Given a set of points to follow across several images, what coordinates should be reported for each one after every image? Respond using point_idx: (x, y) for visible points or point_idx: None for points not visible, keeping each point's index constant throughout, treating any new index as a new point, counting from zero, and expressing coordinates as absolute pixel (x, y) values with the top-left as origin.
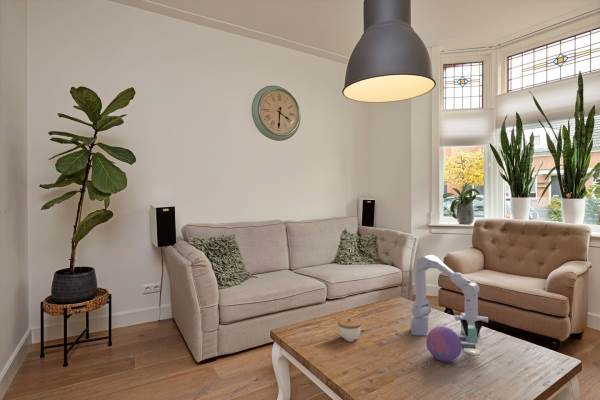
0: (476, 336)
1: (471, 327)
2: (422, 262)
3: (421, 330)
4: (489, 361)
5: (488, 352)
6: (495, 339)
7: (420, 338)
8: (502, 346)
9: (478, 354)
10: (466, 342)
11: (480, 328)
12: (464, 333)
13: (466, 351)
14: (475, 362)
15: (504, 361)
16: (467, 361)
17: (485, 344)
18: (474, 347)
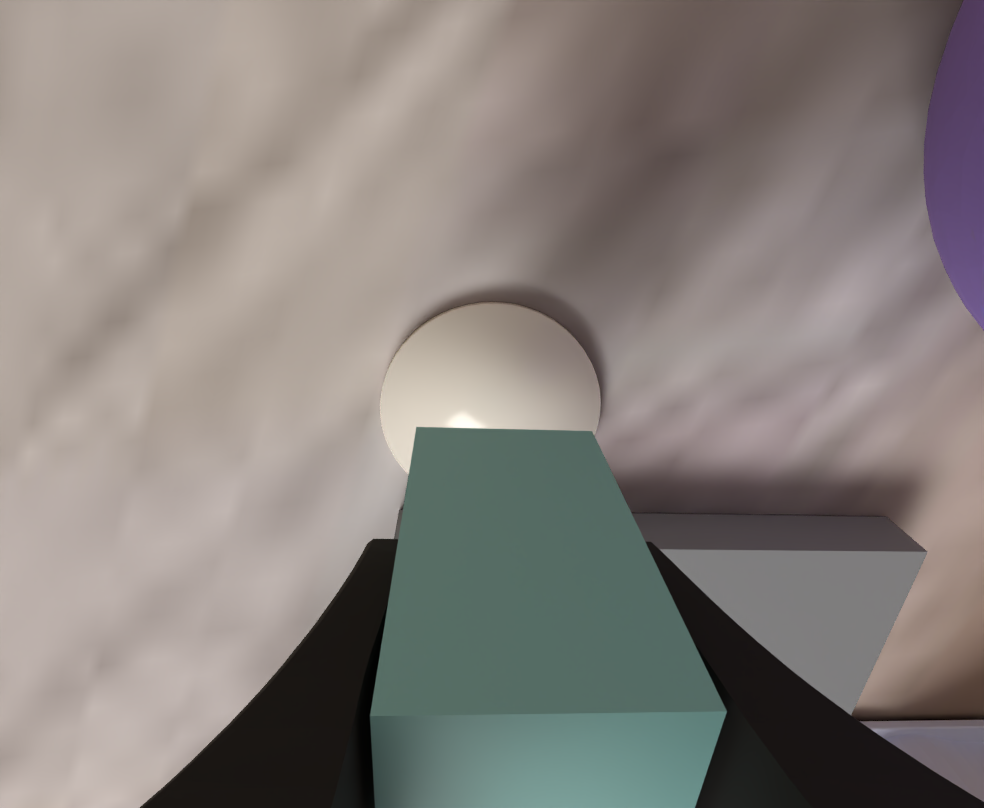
0: (421, 514)
1: (543, 797)
2: None
3: (961, 781)
4: (311, 105)
5: (247, 417)
6: (81, 742)
7: (972, 659)
8: (17, 599)
9: (420, 328)
10: None
11: (216, 748)
12: None
13: (573, 389)
14: (570, 35)
15: (48, 134)
16: (694, 62)
17: (233, 621)
18: None
